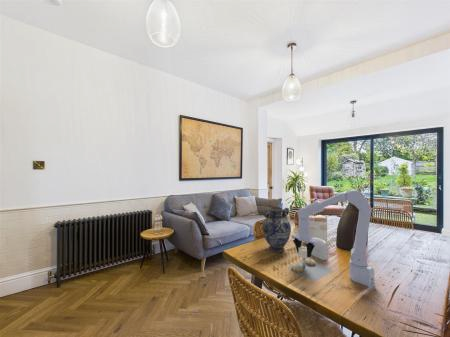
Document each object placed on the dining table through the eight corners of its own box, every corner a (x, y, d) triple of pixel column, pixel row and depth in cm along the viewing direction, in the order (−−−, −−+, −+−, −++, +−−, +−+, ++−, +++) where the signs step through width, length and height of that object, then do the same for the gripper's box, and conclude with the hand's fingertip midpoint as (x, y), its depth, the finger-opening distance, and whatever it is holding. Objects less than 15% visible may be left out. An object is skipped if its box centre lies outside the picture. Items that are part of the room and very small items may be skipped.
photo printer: (329, 261, 119) (329, 240, 120) (323, 263, 118) (323, 241, 118) (314, 255, 129) (314, 235, 129) (309, 256, 127) (309, 236, 127)
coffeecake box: (324, 241, 153) (324, 215, 153) (327, 245, 146) (327, 217, 146) (303, 240, 156) (303, 214, 156) (305, 243, 149) (305, 216, 149)
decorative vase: (272, 257, 125) (272, 211, 126) (255, 247, 142) (255, 206, 143) (298, 251, 134) (298, 208, 135) (280, 242, 151) (280, 204, 152)
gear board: (334, 273, 106) (334, 261, 106) (314, 284, 96) (314, 271, 96) (306, 262, 119) (306, 251, 119) (286, 270, 109) (286, 259, 109)
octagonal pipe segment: (311, 256, 110) (311, 249, 110) (305, 259, 107) (305, 251, 107) (302, 253, 114) (302, 245, 114) (296, 255, 111) (296, 248, 111)
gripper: (288, 227, 114) (288, 252, 114) (312, 234, 102) (312, 261, 102) (295, 225, 118) (295, 249, 118) (319, 232, 106) (319, 258, 106)
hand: (303, 254), depth 110 cm, fingers closed on octagonal pipe segment, 5 cm apart
